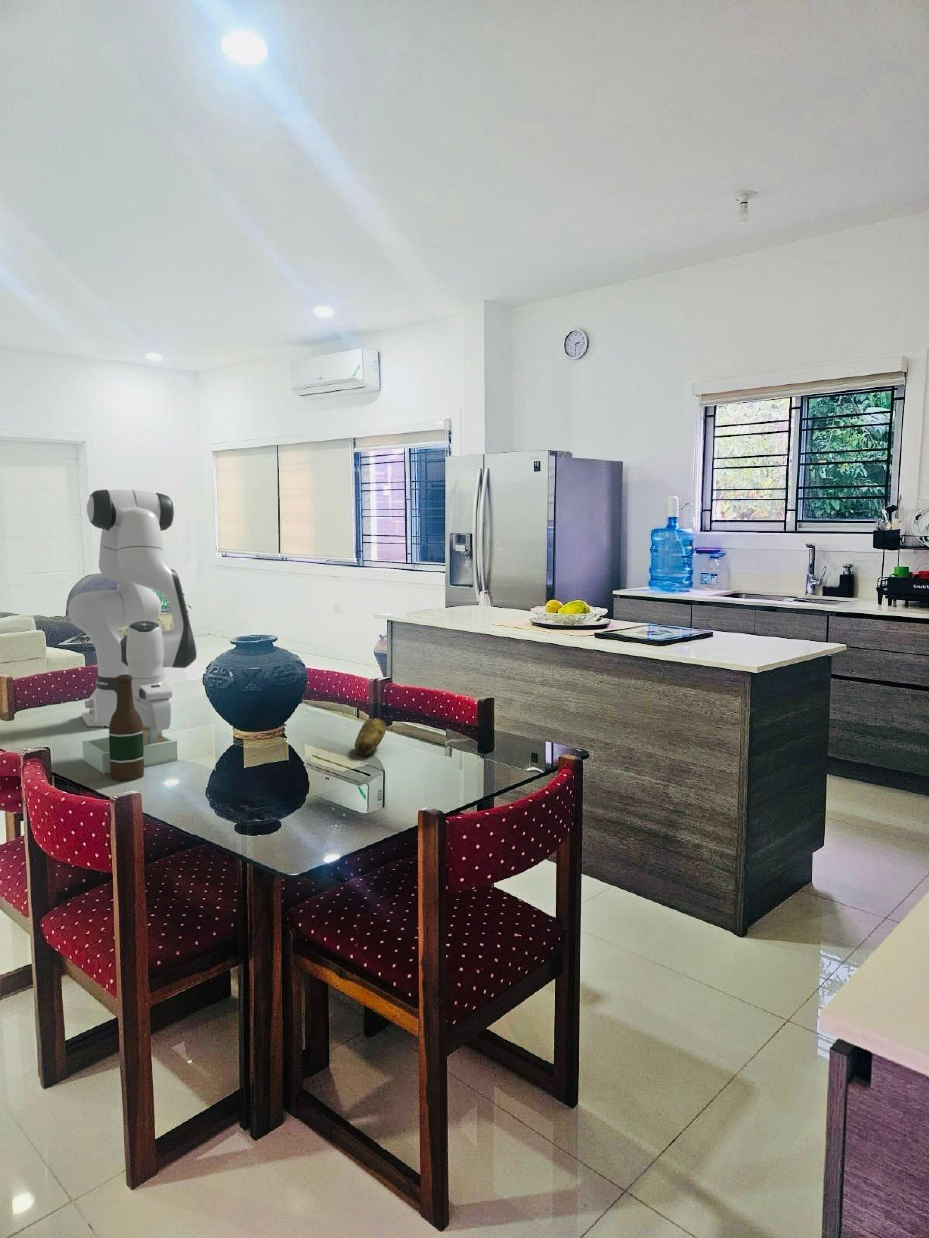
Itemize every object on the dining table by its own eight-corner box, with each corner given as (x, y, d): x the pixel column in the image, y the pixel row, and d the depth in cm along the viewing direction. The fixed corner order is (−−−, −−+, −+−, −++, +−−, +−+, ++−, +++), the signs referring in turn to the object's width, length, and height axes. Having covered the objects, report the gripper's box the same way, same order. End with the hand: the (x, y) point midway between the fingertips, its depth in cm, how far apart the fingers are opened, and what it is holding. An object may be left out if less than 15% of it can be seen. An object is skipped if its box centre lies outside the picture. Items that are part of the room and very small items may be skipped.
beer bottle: (118, 770, 194) (115, 672, 192) (151, 771, 194) (147, 672, 191) (103, 781, 187) (99, 678, 184) (137, 782, 186) (133, 679, 184)
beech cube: (134, 746, 206) (134, 727, 205) (154, 743, 209) (153, 724, 208) (142, 750, 202) (141, 731, 201) (162, 747, 205) (161, 728, 205)
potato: (341, 754, 211) (341, 724, 210) (370, 743, 222) (371, 714, 221) (367, 759, 207) (367, 728, 206) (396, 747, 218) (396, 718, 217)
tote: (83, 760, 202) (82, 741, 201) (155, 748, 214) (154, 729, 213) (102, 774, 192) (102, 753, 191) (177, 760, 204) (176, 740, 203)
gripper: (118, 681, 209) (120, 734, 211) (149, 695, 194) (151, 751, 196) (143, 678, 213) (144, 730, 215) (175, 691, 198) (176, 747, 200)
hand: (148, 740), depth 205 cm, fingers closed on beech cube, 5 cm apart
